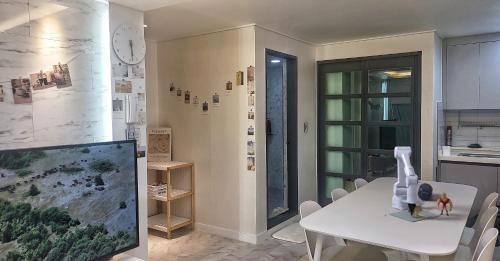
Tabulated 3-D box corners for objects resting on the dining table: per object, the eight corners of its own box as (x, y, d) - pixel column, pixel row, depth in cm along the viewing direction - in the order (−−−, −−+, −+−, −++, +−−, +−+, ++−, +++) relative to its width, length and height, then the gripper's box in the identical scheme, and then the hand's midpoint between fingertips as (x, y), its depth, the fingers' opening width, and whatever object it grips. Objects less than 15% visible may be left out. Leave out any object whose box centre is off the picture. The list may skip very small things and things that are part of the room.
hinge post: (407, 211, 242) (407, 205, 242) (410, 211, 243) (410, 204, 243) (410, 212, 240) (410, 206, 240) (413, 212, 241) (413, 205, 241)
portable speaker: (419, 193, 294) (419, 181, 293) (432, 194, 289) (432, 182, 289) (417, 200, 272) (417, 187, 271) (431, 202, 267) (431, 189, 267)
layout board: (388, 214, 239) (388, 213, 239) (416, 209, 250) (416, 208, 250) (412, 222, 222) (412, 221, 222) (440, 216, 233) (440, 215, 233)
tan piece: (409, 212, 240) (409, 206, 240) (411, 212, 240) (411, 206, 240) (415, 217, 228) (415, 211, 227) (417, 218, 227) (417, 211, 227)
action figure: (435, 214, 236) (435, 192, 236) (436, 213, 239) (437, 190, 238) (452, 216, 231) (452, 193, 230) (453, 215, 234) (453, 192, 233)
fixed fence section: (411, 211, 243) (411, 204, 242) (420, 209, 246) (420, 203, 246) (412, 211, 241) (412, 205, 241) (421, 209, 245) (421, 203, 245)
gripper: (399, 195, 229) (399, 215, 230) (424, 196, 224) (424, 217, 225) (399, 192, 236) (399, 212, 236) (423, 193, 231) (423, 214, 232)
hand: (411, 215), depth 231 cm, fingers closed
